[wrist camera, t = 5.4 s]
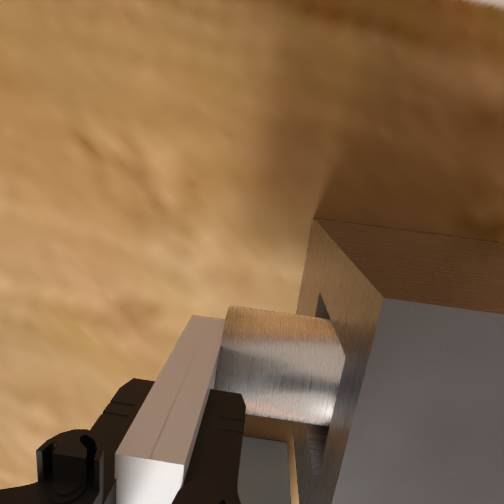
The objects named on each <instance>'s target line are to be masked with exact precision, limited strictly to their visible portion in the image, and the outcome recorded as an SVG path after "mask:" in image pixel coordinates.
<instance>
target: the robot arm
mask: <svg viewBox="0 0 504 504" xmlns="http://www.w3.org/2000/svg"><path fill="white" fill-rule="evenodd" d="M224 324H225V320H224V319H217V318H210V317H203V316H197V315H192V317H191V318H190V320H189V322H188V324H187V326H186V327H185V329H184V331H183V333H182V334H181V336H180V338H179V340H178V342H177V343H176V345H175V347H174V349H173V351H172V352H171V354H170V356H169V358H168V360H167V361H166V363H165V365H164V367H163V369H162V370H161V372H160V374H159V376H158V377H157V379H156V381H148V380H142V379H135V378H133V379H132V380H130V381H129V382H128V383H126V384H125V385H123V386H122V387H121V388H119V390H118V391H117V393H116V394H115V396H114V397H113V398H112V400H111V402H110V403H109V404H108V405H107V407H106V408H105V410H104V411H103V414H102V415H100V417H99V418H98V420H97V421H96V423H95V424H94V425H93V427H92V428H91V430H90V431H89V430H87V429H78V430H70V431H67V432H63V433H60V434H58V435H56V436H54V437H53V438H51V439H49V440H47V441H46V442H45V443H44V444H43V445H42V446H40V447H39V448H38V449H37V450H36V457H37V472H38V482H36V483H33V484H29V485H25V486H21V487H14V488H8V489H1V490H0V504H241V502H240V499H239V495H238V475H239V466H240V457H241V448H242V439H243V431H244V422H245V413H246V405H245V402H244V400H243V397H242V394H240V393H234V392H227V391H221V390H214V386H215V378H216V370H217V363H218V357H219V351H220V345H221V339H222V334H223V329H224Z"/></svg>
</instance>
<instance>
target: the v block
mask: <svg viewBox="0 0 504 504" xmlns="http://www.w3.org/2000/svg"><path fill="white" fill-rule="evenodd" d="M238 495H239V499H240V502H241V504H291V496H290V480H289V464H288V447H287V443H286V442H279V441H273V440H266V439H260V438H253V437H246V436H243V439H242V448H241V457H240V466H239V475H238Z"/></svg>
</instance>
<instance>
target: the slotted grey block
mask: <svg viewBox="0 0 504 504" xmlns="http://www.w3.org/2000/svg"><path fill="white" fill-rule="evenodd" d="M296 315H302V316H310V317H317V318H324V319H331V321H332V324H333V326H334V329H335V331H336V334H337V336H338V339H339V341H340V344H341V346H342V349H343V351H344V354H345V356H346V358H345V362H344V366H343V371H342V375H341V379H340V384H339V388H338V392H337V397H336V401H335V405H334V409H333V414H332V418H331V422H330V427H329V426H322V425H316V424H309V423H302V422H295V421H292V424H293V435H294V447H295V458H296V470H297V482H298V493H299V504H504V244H502V243H498V242H490V241H483V240H475V239H468V238H460V237H453V236H445V235H438V234H430V233H423V232H415V231H408V230H400V229H393V228H385V227H378V226H370V225H363V224H355V223H348V222H340V221H333V220H325V219H318V218H313V222H312V228H311V233H310V239H309V245H308V250H307V256H306V262H305V267H304V273H303V278H302V284H301V290H300V295H299V301H298V307H297V312H296Z"/></svg>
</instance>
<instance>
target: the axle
mask: <svg viewBox="0 0 504 504" xmlns="http://www.w3.org/2000/svg"><path fill="white" fill-rule="evenodd" d="M345 358H346V356H345V354H344V351H343V349H342V346H341V344H340V341H339V339H338V336H337V334H336V331H335V329H334V326H333V324H332V321H331V319H324V318H317V317H310V316H302V315H295V314H288V313H281V312H274V311H267V310H260V309H253V308H246V307H239V306H232V305H230V306H229V308H228V312H227V315H226V320H225V324H224V329H223V334H222V339H221V345H220V351H219V357H218V363H217V370H216V378H215V386H214V390H221V391H227V392H234V393H240V394H242V397H243V400H244V402H245V405H246V413H245V414H248V415H255V416H262V417H269V418H275V419H282V420H289V421H295V422H302V423H309V424H316V425H322V426H329V427H330V422H331V418H332V414H333V409H334V405H335V401H336V397H337V392H338V388H339V384H340V379H341V375H342V371H343V366H344V362H345Z"/></svg>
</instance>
